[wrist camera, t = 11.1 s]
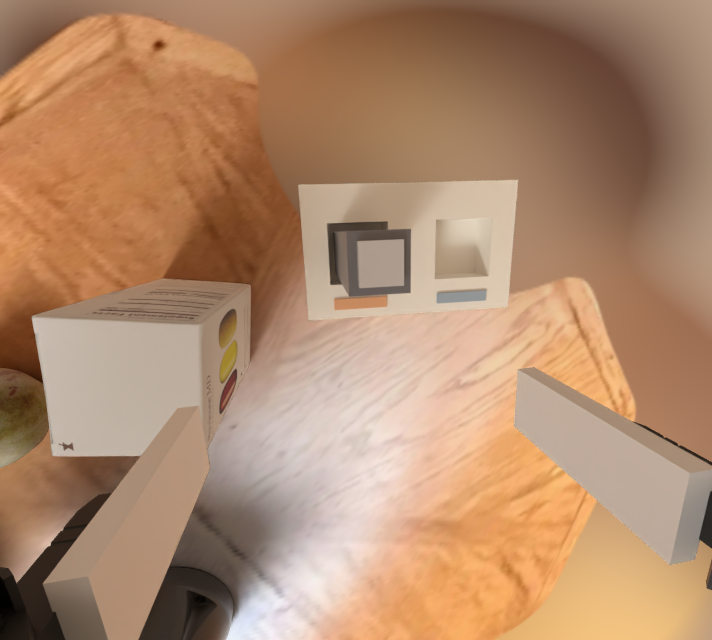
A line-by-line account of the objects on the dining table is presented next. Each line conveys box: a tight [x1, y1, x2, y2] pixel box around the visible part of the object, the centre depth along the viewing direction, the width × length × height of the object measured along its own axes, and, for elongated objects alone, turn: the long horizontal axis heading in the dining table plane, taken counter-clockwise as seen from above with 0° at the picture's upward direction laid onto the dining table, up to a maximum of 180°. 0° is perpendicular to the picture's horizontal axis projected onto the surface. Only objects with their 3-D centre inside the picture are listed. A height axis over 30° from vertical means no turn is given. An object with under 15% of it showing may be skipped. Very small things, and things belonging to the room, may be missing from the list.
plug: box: [333, 229, 411, 297], centre depth 27 cm, size 4×4×14 cm
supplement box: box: [32, 278, 251, 456], centre depth 28 cm, size 10×9×17 cm
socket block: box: [298, 180, 518, 321], centre depth 34 cm, size 20×12×6 cm, turn 92°
